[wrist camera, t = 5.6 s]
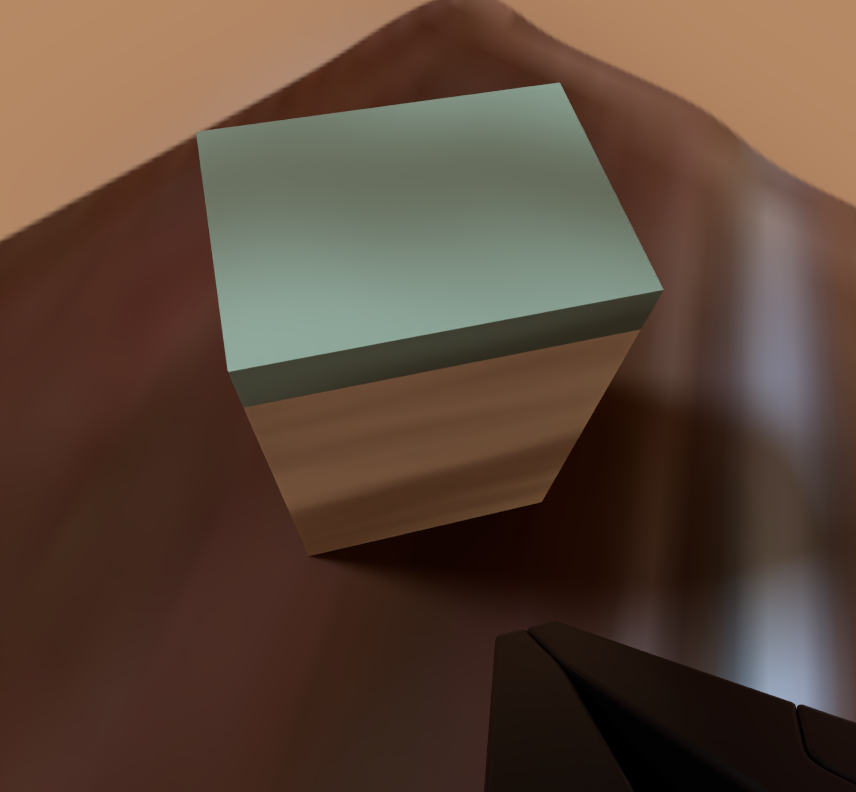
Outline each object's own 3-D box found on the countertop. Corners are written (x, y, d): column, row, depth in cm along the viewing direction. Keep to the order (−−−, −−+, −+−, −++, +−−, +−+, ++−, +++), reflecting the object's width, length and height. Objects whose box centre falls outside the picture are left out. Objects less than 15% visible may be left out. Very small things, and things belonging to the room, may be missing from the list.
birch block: (541, 502, 17) (663, 289, 9) (308, 556, 17) (227, 372, 9) (492, 358, 19) (559, 82, 11) (282, 399, 18) (196, 131, 11)
